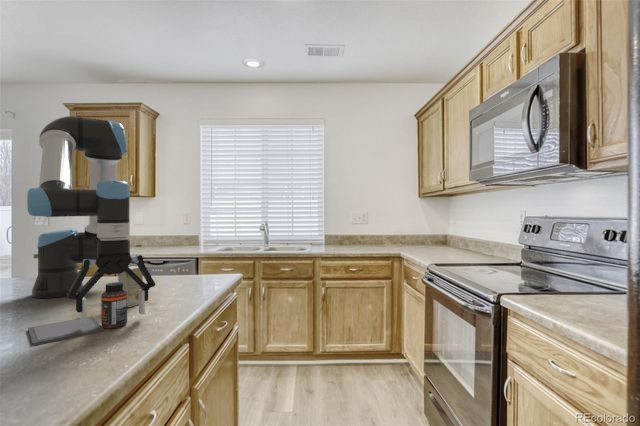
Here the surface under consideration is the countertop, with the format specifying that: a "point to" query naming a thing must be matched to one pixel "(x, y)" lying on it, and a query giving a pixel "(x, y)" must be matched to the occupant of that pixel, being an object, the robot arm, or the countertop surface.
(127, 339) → the countertop surface
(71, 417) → the countertop surface
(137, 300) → the skincare box
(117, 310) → the supplement bottle
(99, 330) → the coaster
